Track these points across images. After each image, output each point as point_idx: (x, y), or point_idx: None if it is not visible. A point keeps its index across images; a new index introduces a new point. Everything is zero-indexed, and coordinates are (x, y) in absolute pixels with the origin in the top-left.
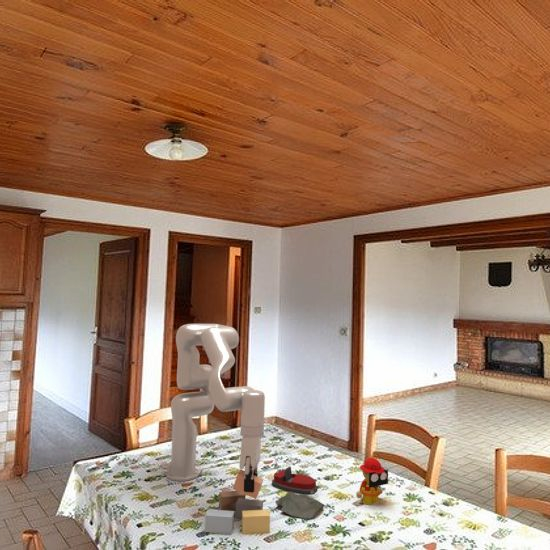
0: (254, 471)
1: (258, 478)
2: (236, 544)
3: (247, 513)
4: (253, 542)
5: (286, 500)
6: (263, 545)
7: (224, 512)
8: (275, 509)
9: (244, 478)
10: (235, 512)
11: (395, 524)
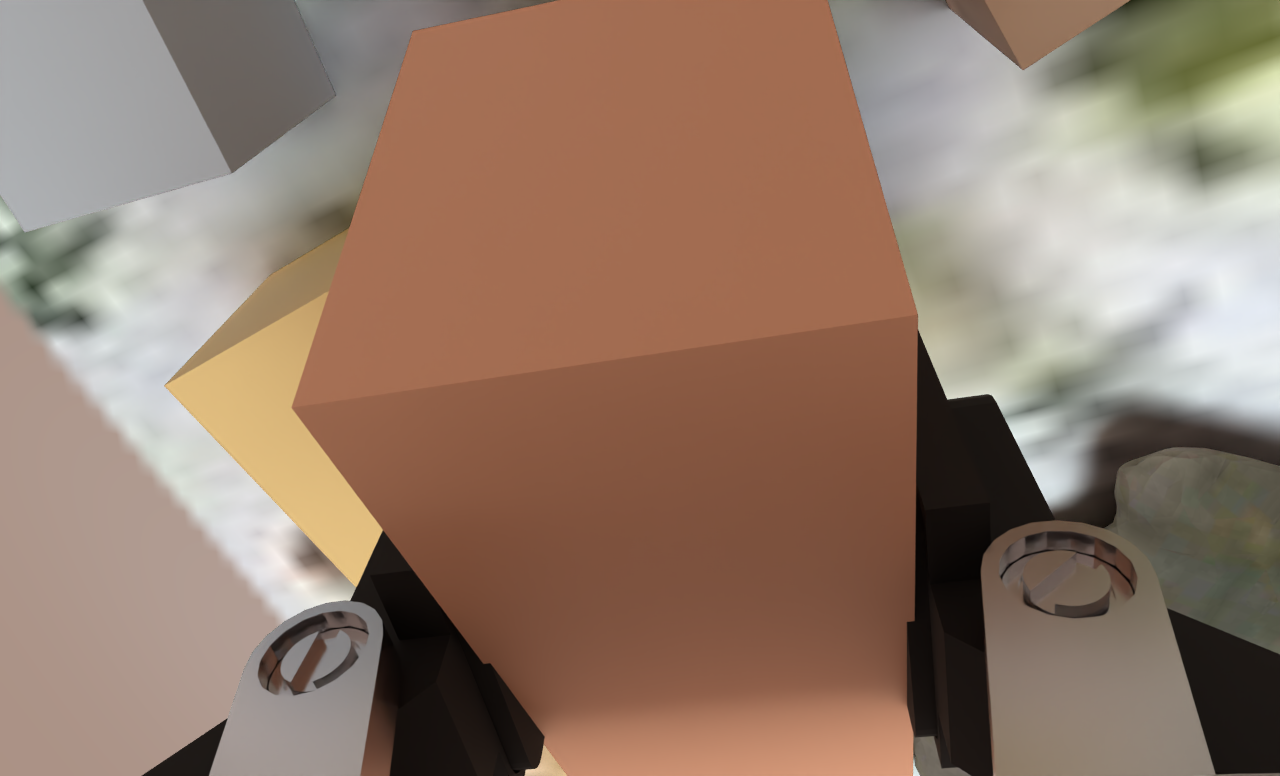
0: (960, 764)
1: (817, 743)
2: (32, 300)
3: None
4: (194, 442)
5: (1183, 602)
6: (213, 538)
7: (60, 23)
8: (1086, 419)
9: (264, 645)
10: None
11: None
